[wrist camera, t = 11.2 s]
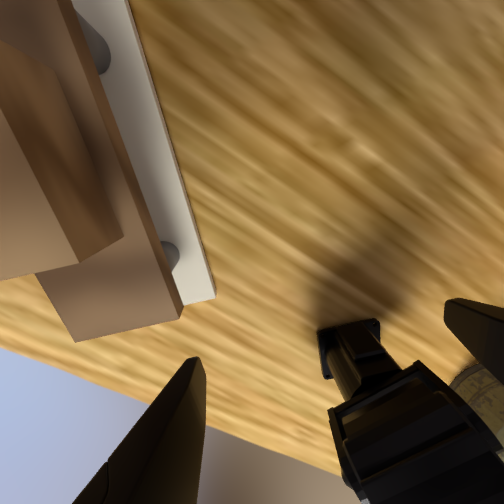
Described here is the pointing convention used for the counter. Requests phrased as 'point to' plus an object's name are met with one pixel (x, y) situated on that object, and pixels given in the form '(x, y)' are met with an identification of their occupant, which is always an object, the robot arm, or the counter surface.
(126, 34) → the peg stand
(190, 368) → the robot arm
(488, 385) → the thermos
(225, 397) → the counter surface
